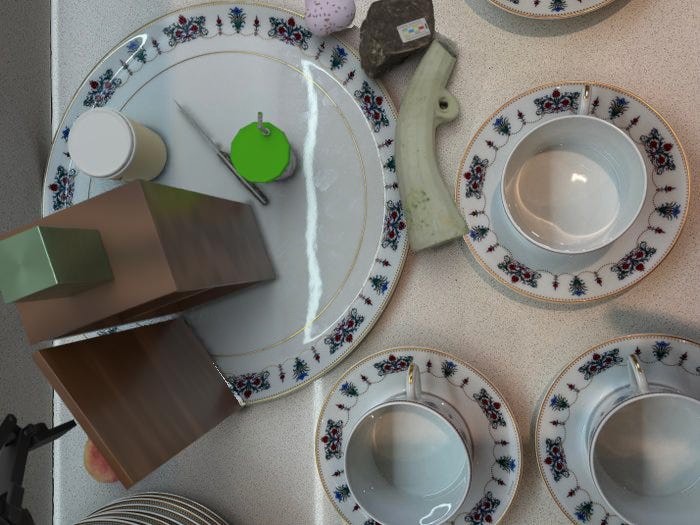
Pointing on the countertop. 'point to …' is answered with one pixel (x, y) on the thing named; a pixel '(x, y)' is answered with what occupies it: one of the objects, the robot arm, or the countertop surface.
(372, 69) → the rock
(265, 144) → the cup
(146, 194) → the cupboard
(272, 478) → the countertop surface
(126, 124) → the coffee cup
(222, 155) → the knife
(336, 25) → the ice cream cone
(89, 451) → the fruit
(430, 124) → the pale green curved piece
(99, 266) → the green rectangular block
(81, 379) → the cupboard door
